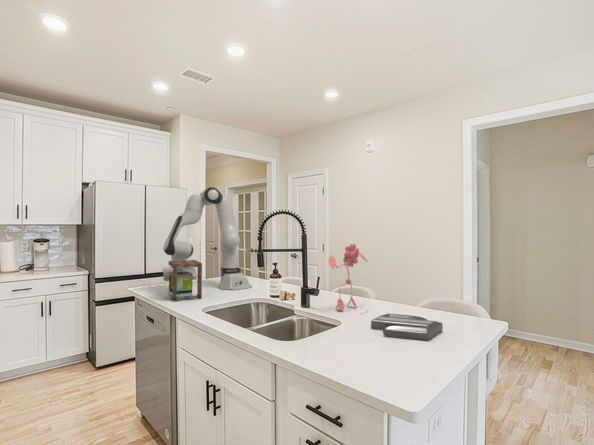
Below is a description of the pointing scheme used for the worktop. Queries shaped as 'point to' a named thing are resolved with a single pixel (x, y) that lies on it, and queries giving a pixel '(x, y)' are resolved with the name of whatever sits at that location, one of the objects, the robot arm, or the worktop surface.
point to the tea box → (181, 284)
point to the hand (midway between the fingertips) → (181, 285)
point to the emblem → (407, 326)
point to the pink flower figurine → (350, 258)
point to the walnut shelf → (176, 265)
